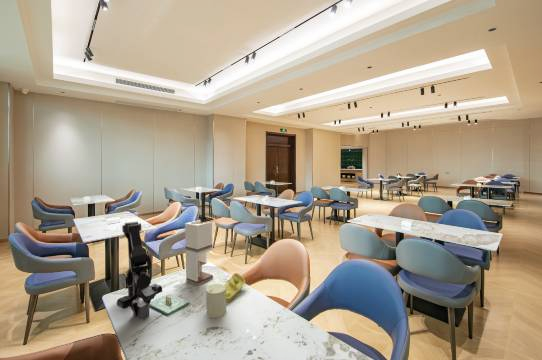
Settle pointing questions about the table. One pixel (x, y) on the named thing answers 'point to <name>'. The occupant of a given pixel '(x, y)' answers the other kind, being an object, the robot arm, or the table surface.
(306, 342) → the table surface
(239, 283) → the plastic component
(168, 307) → the pcb board
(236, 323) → the table surface
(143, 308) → the grey ice pop
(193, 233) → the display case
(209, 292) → the can
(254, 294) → the table surface
